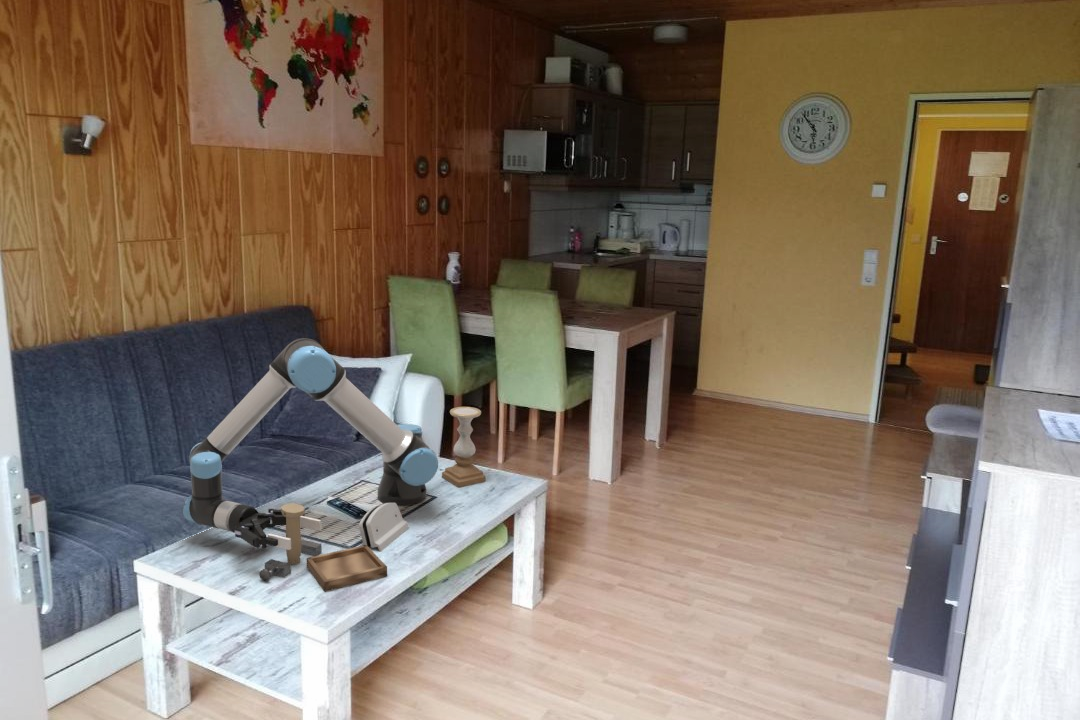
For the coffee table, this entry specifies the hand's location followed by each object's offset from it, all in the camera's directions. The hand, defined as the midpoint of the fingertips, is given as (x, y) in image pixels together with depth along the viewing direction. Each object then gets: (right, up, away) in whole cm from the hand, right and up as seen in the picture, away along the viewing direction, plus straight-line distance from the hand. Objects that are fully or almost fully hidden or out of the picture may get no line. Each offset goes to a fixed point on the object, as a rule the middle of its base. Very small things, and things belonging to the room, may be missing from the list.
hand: (305, 534), depth 202 cm
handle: (-4, -8, +3) cm, 10 cm away
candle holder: (+34, +4, +64) cm, 73 cm away
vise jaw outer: (-7, -9, -4) cm, 12 cm away
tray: (+10, -9, 0) cm, 14 cm away
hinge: (+16, -5, +20) cm, 26 cm away
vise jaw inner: (-2, -7, +9) cm, 11 cm away
